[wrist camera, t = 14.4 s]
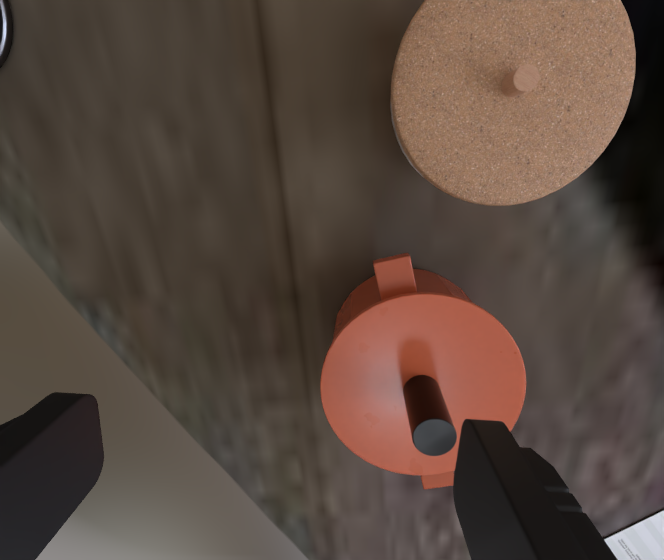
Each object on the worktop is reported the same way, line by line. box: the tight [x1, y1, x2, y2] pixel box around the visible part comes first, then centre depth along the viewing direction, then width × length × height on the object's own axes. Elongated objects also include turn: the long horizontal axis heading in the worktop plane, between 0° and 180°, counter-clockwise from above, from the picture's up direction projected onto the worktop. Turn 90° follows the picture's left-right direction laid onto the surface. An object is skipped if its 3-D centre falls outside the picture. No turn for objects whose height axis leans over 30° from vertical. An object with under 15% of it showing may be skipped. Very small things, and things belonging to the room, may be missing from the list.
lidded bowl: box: [390, 0, 636, 206], centre depth 25 cm, size 13×13×11 cm
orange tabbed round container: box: [333, 253, 472, 489], centre depth 31 cm, size 12×18×8 cm
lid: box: [320, 292, 526, 475], centre depth 25 cm, size 13×13×6 cm
